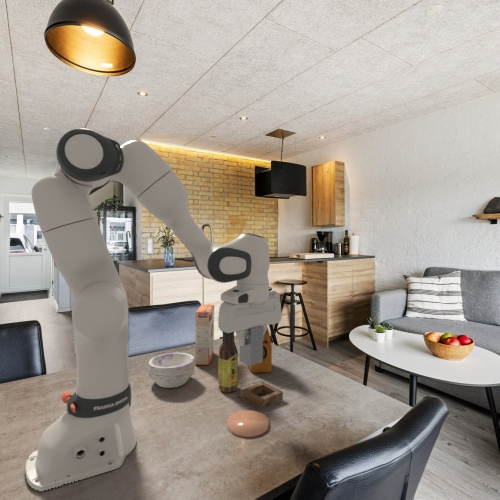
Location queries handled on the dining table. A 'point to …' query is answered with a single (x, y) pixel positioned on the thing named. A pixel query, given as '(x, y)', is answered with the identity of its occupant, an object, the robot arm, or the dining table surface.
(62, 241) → the robot arm
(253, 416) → the peach domed puck
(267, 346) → the coffee package
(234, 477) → the dining table surface
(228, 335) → the sauce bottle
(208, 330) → the cracker box
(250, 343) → the steel peg
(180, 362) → the paper bowls
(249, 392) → the socket block
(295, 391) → the dining table surface
